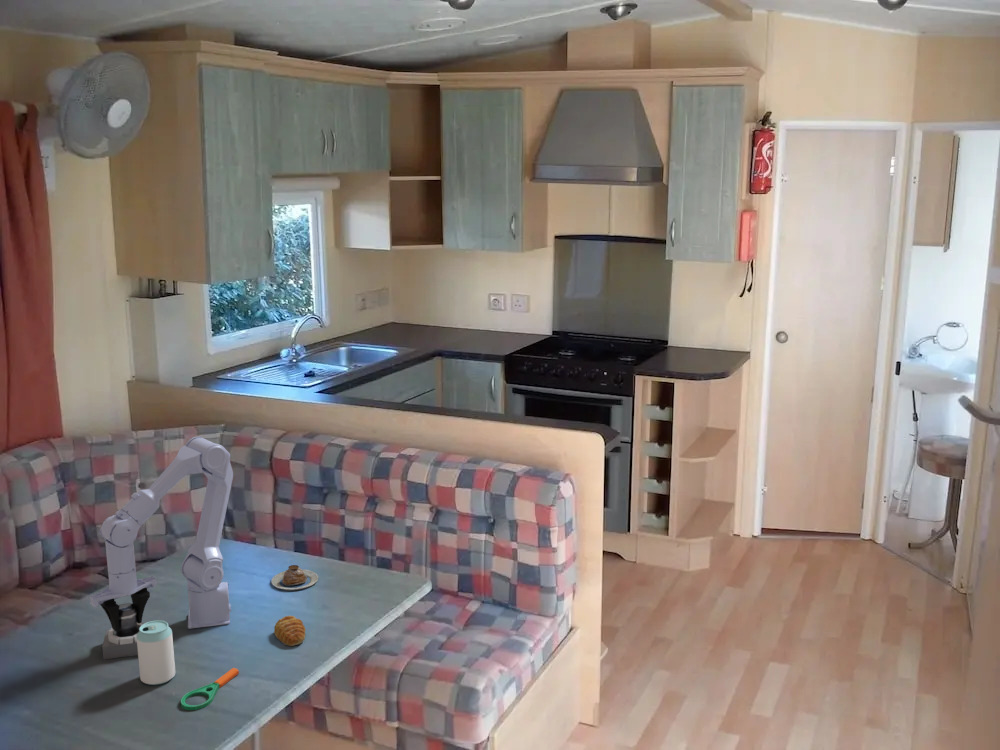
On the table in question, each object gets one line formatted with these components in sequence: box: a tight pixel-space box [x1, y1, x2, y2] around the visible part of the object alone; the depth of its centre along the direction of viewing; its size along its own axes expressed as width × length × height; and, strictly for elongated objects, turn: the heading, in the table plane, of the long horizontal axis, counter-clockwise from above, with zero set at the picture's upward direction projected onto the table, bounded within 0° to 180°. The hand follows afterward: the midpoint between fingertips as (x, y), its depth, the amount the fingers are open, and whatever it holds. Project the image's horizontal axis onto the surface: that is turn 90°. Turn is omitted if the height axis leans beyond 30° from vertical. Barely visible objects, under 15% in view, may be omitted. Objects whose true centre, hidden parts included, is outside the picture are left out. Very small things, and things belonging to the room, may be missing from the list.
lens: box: [116, 602, 138, 637], centre depth 217 cm, size 5×5×6 cm
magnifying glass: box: [180, 667, 240, 711], centre depth 200 cm, size 15×6×2 cm, turn 155°
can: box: [137, 620, 176, 686], centre depth 204 cm, size 7×7×12 cm
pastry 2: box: [270, 564, 319, 592], centre depth 251 cm, size 12×12×5 cm
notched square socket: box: [101, 622, 144, 660], centre depth 218 cm, size 10×8×4 cm
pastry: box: [273, 615, 306, 647], centre depth 222 cm, size 9×7×4 cm
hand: (127, 625), depth 217 cm, fingers closed on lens, 4 cm apart
